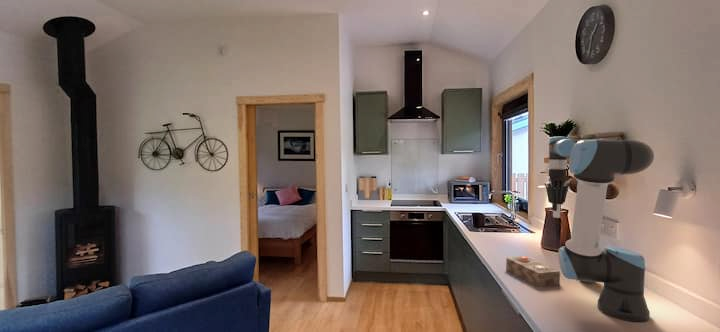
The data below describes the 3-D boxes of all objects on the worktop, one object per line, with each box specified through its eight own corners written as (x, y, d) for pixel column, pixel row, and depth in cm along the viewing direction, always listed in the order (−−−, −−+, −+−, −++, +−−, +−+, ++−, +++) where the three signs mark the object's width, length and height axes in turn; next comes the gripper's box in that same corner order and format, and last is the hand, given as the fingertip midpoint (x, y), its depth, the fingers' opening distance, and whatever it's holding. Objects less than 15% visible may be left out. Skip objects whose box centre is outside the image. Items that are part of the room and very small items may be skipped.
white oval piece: (546, 281, 152) (547, 268, 152) (539, 281, 151) (539, 268, 151) (540, 278, 156) (540, 265, 156) (533, 278, 155) (533, 265, 155)
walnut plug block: (559, 284, 149) (559, 271, 149) (538, 286, 147) (538, 273, 147) (525, 268, 171) (525, 256, 171) (506, 269, 169) (506, 257, 168)
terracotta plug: (529, 270, 163) (530, 258, 163) (522, 271, 162) (522, 258, 162) (524, 267, 167) (524, 255, 166) (517, 268, 166) (517, 256, 166)
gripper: (561, 168, 166) (560, 215, 167) (540, 168, 163) (539, 216, 164) (575, 168, 159) (573, 218, 160) (552, 169, 156) (551, 219, 157)
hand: (556, 217), depth 162 cm, fingers closed
